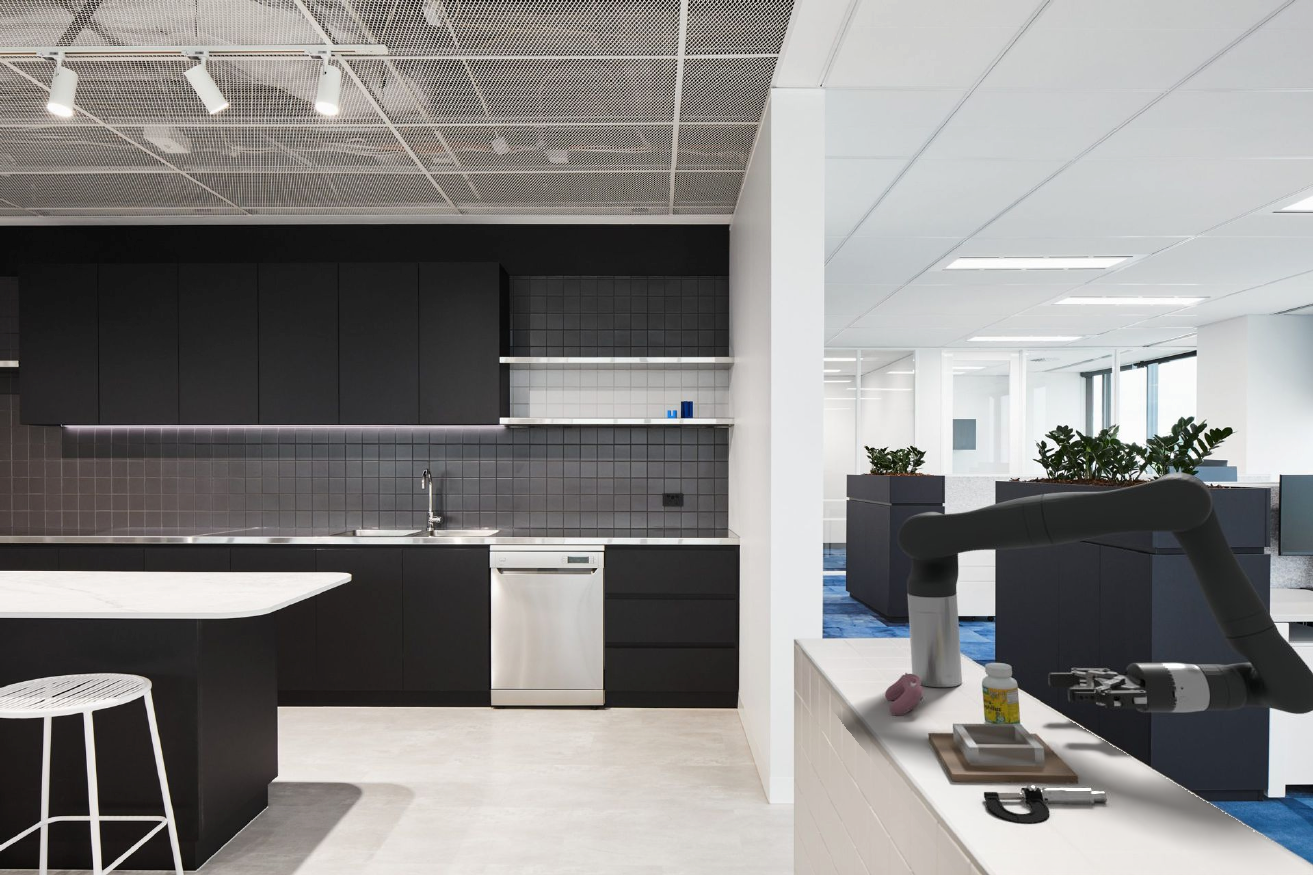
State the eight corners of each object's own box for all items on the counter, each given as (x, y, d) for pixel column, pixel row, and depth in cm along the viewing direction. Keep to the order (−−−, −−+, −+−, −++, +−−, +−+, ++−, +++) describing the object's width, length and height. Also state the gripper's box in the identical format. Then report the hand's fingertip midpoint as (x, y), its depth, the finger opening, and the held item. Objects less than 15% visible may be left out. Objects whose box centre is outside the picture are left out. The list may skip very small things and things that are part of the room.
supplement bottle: (1028, 726, 123) (1024, 666, 123) (1003, 732, 121) (999, 671, 121) (1001, 717, 128) (997, 659, 128) (977, 722, 126) (973, 664, 126)
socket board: (928, 739, 119) (927, 716, 119) (1036, 739, 117) (1035, 717, 117) (953, 781, 103) (951, 755, 104) (1078, 783, 101) (1076, 756, 101)
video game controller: (913, 725, 130) (930, 689, 130) (888, 713, 131) (905, 676, 131) (906, 707, 140) (922, 673, 139) (882, 696, 141) (898, 662, 140)
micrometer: (996, 827, 91) (995, 805, 91) (978, 800, 98) (977, 781, 98) (1129, 828, 89) (1127, 806, 90) (1101, 801, 97) (1100, 781, 97)
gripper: (1143, 652, 128) (1041, 653, 130) (1189, 675, 114) (1074, 676, 116) (1146, 697, 128) (1044, 697, 130) (1192, 726, 114) (1077, 725, 116)
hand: (1058, 687), depth 123 cm, fingers open, 8 cm apart
